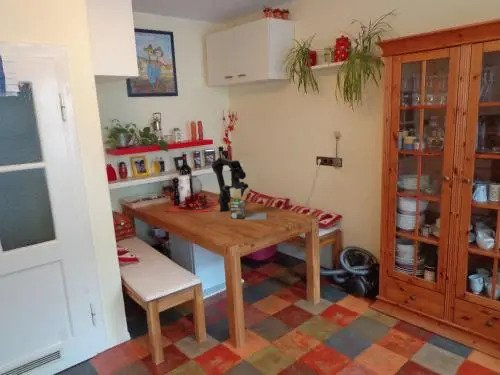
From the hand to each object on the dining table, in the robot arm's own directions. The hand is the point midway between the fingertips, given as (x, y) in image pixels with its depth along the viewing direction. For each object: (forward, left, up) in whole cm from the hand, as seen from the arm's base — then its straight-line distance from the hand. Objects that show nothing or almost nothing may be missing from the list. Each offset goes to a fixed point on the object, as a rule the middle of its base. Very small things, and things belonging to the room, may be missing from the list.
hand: (236, 197), depth 278 cm
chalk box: (+2, -6, -13) cm, 15 cm away
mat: (+15, -6, -13) cm, 21 cm away
